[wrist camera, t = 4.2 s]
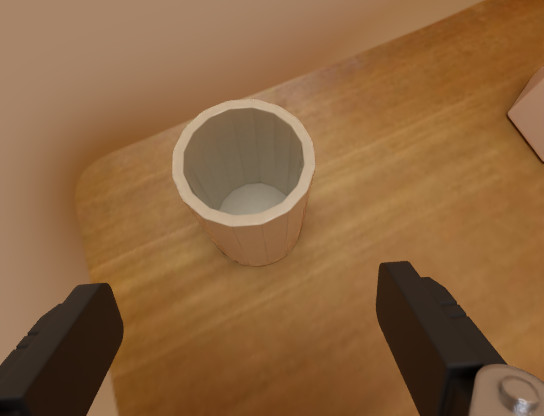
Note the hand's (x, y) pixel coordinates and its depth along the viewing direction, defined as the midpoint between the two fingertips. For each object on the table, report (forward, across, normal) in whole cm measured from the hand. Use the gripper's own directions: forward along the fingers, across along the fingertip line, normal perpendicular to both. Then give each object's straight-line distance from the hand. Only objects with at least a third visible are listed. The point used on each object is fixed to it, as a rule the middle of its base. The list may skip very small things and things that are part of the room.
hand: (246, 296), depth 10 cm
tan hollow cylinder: (+12, 0, +4) cm, 13 cm away
